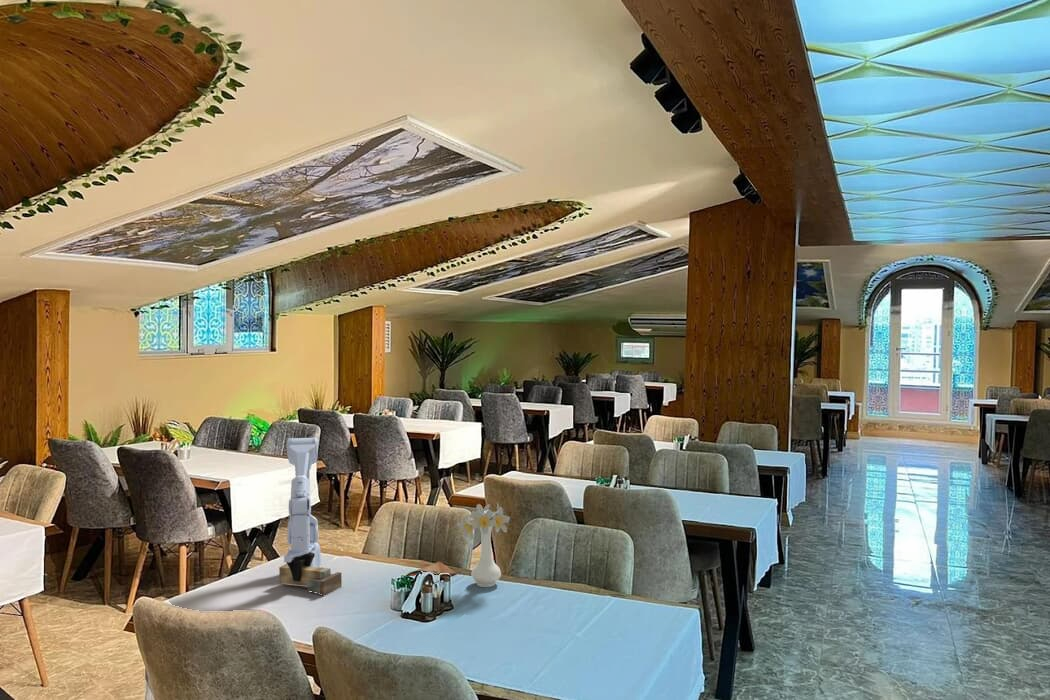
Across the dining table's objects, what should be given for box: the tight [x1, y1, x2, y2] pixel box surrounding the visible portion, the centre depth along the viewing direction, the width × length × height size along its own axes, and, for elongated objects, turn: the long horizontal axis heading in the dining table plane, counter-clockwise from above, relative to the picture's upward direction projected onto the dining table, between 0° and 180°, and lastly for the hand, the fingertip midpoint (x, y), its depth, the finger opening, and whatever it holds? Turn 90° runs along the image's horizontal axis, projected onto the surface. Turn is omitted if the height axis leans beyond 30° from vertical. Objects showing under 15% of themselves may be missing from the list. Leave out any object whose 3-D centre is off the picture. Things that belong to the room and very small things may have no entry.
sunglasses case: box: [405, 560, 458, 577], centre depth 261 cm, size 18×7×7 cm
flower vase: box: [456, 502, 511, 588], centre depth 254 cm, size 13×18×25 cm
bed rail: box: [278, 563, 332, 587], centre depth 253 cm, size 16×4×5 cm, turn 72°
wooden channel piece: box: [307, 571, 343, 596], centre depth 250 cm, size 6×9×4 cm
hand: (300, 578), depth 253 cm, fingers closed on bed rail, 3 cm apart
